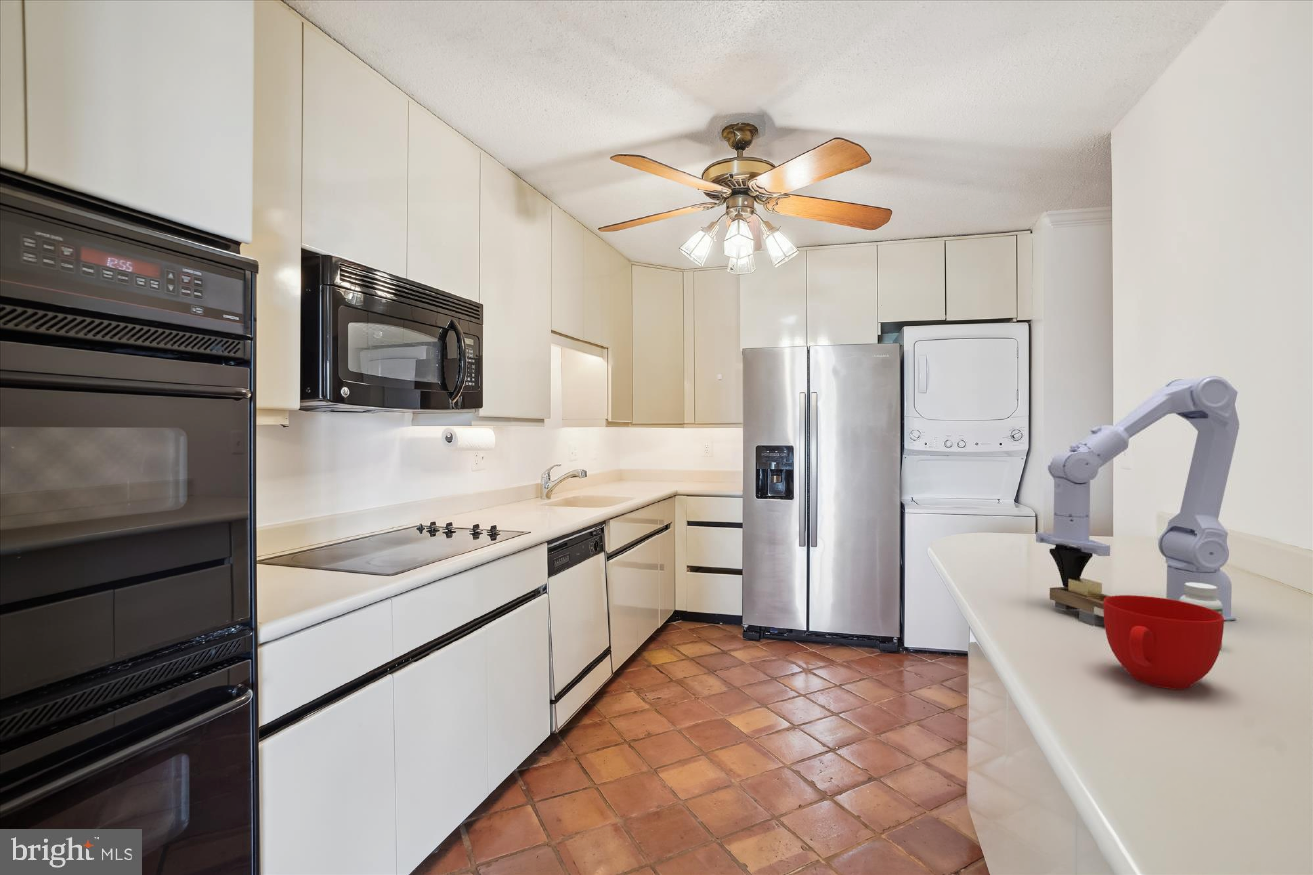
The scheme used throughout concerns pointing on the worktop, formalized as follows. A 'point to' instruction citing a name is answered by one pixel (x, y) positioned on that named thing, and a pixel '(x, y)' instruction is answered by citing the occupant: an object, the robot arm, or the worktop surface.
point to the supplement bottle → (1202, 596)
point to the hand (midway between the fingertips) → (1070, 586)
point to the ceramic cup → (1163, 639)
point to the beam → (1079, 605)
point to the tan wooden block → (1086, 588)
